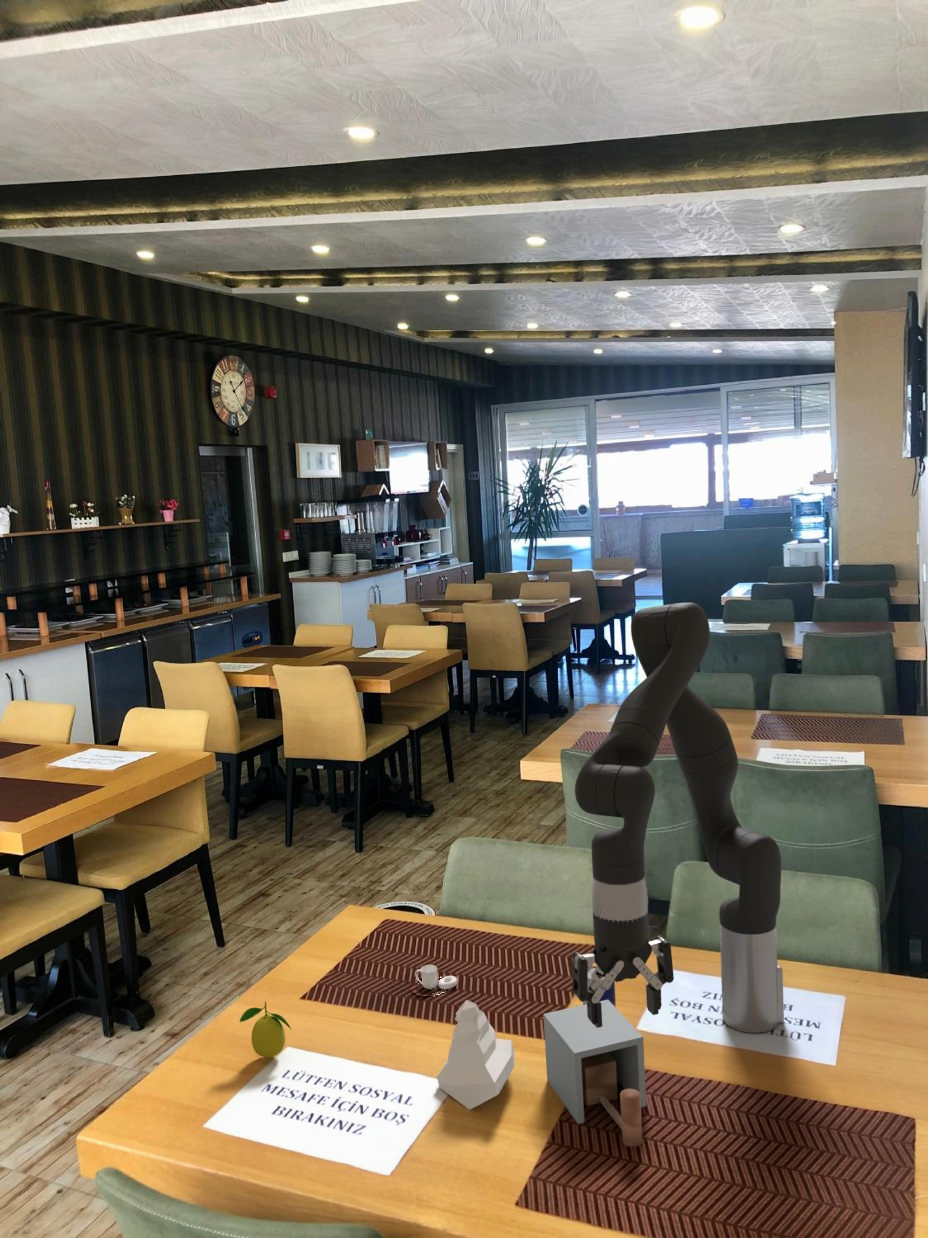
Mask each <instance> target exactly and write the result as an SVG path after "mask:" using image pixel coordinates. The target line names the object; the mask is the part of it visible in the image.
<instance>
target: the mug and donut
mask: <svg viewBox="0 0 928 1238" xmlns="http://www.w3.org/2000/svg"><path fill="white" fill-rule="evenodd" d="M417 972H419V973H420V976H421V977H418V975H417ZM437 976H438V967H437V966H436V965H434V964H426V965H423V966H421V968H420V969H417V970H415V972H414V977H415V978H416V980H418V981H419V982H420V983H419V984H420V985H422V986H423V989H425V988H427V989H431V990H433V989H432V988H434V989H436V987H437V986H438V987H439V989H442V990H443V989H449V990H451V989H453V988H454V987H455V986H457V985H458V978H457V977H456V976H454V975H446V976H444V978H442V977H443V976H440V978H442V979H440V980H437ZM419 978H422V982H421V981H420V980H419ZM438 978H439V977H438ZM427 989H426V990H427ZM445 992H446V991H445ZM445 992H441V993H444V994H446V993H447V992H446V993H445ZM441 993H440V994H441ZM440 994H436V995H438V996H441V995H442V994H441V995H440ZM433 997H436V996H435V995H434V996H433Z"/></svg>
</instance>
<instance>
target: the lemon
mask: <svg viewBox="0 0 928 1238" xmlns="http://www.w3.org/2000/svg"><path fill="white" fill-rule="evenodd" d="M263 1009H264V1011H265V1013H264V1015H263V1016H261V1017H260V1018H258V1019H257V1021H256V1022H255V1023H254V1024H253V1028H252V1031H251V1044H252V1049H253V1050H254V1052H255V1053H256V1054H257V1055H258V1056H260V1057H263V1058H267V1059H268V1060H272V1059H273V1058H274V1057H275V1056H277V1055H278V1054H280V1053H281V1052H282V1050H283V1048H284V1046H285V1044H286V1033H285V1028H284V1026H283V1024H284V1025H285V1026H287V1027H288V1028H289V1029H290V1030H292V1028H291V1026H290V1024H289V1023H288V1021H287V1020H286V1019H285V1018H284V1017H283V1016H282V1015H280V1014H278V1013H271V1012H269V1011H268V1010H267V1001H264V1007H262V1008H261V1007H260V1008H259V1007H250V1008H248V1009H246V1010H245V1011H244V1012H243V1013H242V1015H241V1017H240V1020H239V1022H238V1023H241V1022H246V1021H248V1020H250V1019H253V1017H255V1016H257V1015H258V1014H260V1013H261V1012H262V1010H263ZM282 1023H283V1024H282Z"/></svg>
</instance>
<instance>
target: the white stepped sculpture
mask: <svg viewBox="0 0 928 1238" xmlns="http://www.w3.org/2000/svg"><path fill="white" fill-rule="evenodd" d="M455 1015H456V1016H455V1018H454V1020H455V1021H456V1022H457V1024H456V1026H455V1027H454V1029H453V1031H452V1040H451V1042H450V1043H451V1044H450V1047H449V1051H448V1057H447V1059H446V1061H445V1063H444V1064H443V1066H442V1068H441V1069H440V1071H439V1073H438V1074H437V1076H436V1079H437V1083H438V1086H439V1089H440V1090H442V1091H444V1093H446V1094H447V1095H449V1096H450V1097H452V1098H453V1099H454V1100H456V1101H457V1102H458V1103H460V1104H461V1105H462V1106H464V1107H465V1108H466V1109H468V1110H469V1111H470V1110H472V1109H474V1108H476V1107H478V1106H480V1105H482V1104H484V1103H485V1102H487V1101H489V1100H491V1099H493V1098H494V1097H497V1096H498V1095H499V1094H500V1092H501V1091H502V1089H503V1087H504V1086H505V1083H506V1081H507V1080H508V1079H509V1076H510V1075H511V1073H512V1071H513V1070H514V1068H515V1049H514V1045H513V1041H512V1040H511V1039H505V1038H504V1039H503V1038H499V1037H498V1038H497V1035H496V1030H495V1029H494V1028H493V1026H492V1025H491V1024H490V1022H489V1020H488V1018H487V1015H486V1014H485V1011H482V1010H480V1008H479V1007H478V1004H476V1003H475V1002H473V1001H470V1000H468V999H466V1000H465V1001H464V1002H463V1003H462V1005H461V1006H460V1008H458V1010H457V1011H456V1013H455Z"/></svg>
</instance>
